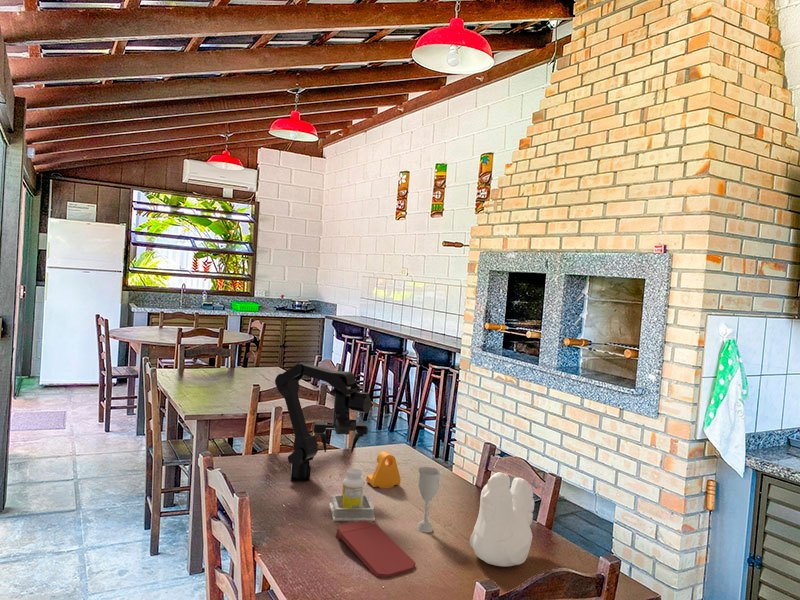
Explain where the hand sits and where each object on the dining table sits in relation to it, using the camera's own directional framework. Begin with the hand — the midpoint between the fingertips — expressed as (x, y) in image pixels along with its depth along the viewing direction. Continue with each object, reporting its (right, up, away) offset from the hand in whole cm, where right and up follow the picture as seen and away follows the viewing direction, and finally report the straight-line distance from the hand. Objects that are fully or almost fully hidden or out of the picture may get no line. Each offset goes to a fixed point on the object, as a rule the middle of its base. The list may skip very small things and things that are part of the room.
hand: (338, 452), depth 204 cm
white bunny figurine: (+52, -19, -41) cm, 69 cm away
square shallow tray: (+6, -14, -19) cm, 25 cm away
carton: (+14, -16, -45) cm, 50 cm away
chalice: (+29, -17, -27) cm, 43 cm away
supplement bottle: (+6, -14, -19) cm, 24 cm away
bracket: (+15, -14, +9) cm, 23 cm away
